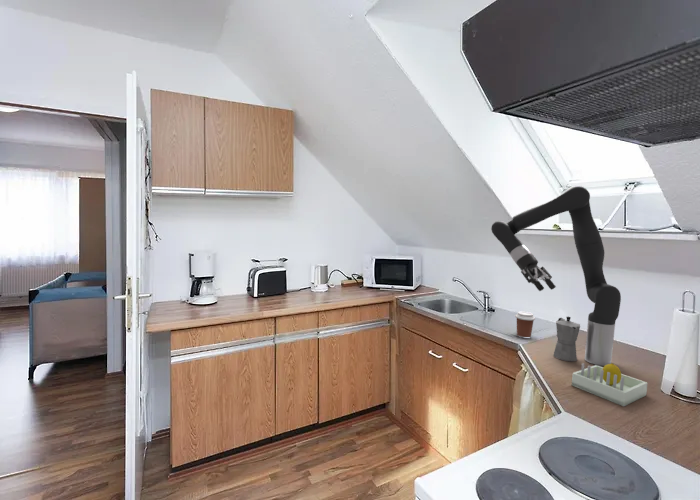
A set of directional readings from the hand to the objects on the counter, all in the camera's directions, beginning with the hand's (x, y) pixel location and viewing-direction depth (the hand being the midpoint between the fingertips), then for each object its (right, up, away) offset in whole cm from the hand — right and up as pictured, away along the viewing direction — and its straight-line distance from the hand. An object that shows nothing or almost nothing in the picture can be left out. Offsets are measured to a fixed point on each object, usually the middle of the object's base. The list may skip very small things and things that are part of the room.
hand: (547, 289), depth 144 cm
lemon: (+11, -32, -20) cm, 39 cm away
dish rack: (+9, -33, -21) cm, 40 cm away
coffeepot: (+12, -31, +10) cm, 34 cm away
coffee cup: (+8, -28, +36) cm, 46 cm away
